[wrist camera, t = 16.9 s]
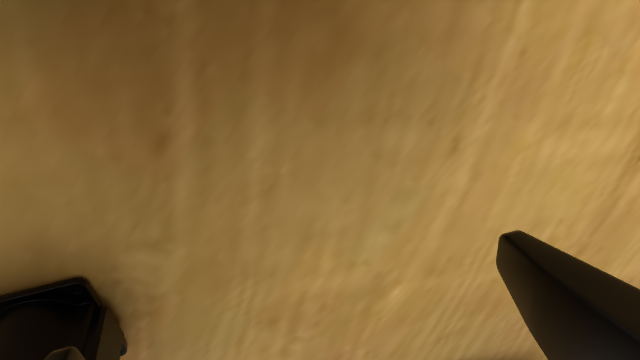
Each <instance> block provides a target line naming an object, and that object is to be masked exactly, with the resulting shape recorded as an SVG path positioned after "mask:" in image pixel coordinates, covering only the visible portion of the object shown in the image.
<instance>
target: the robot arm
mask: <svg viewBox="0 0 640 360" xmlns="http://www.w3.org/2000/svg"><path fill="white" fill-rule="evenodd" d="M496 265H497V268H498V271H499V273H500V275H501V277H502V279H503V281H504V283H505V285H506V287H507V288H508V290H509V292H510V294H511V296H512V298H513V300H514V302H515V304H516V306H517V308H518V310H519V312H520V314H521V315H522V317H523V319H524V321H525V323H526V325H527V327H528V329H529V330H530V332H531V334H532V335H533V337H534V339H535V340H536V342H537V343H538V345H539V346H540V348H541V349H542V351H543V352H544V354H545V355H546V357H547V358H548V360H640V289H638V288H636V287H634V286H632V285H630V284H628V283H626V282H624V281H622V280H620V279H618V278H616V277H614V276H612V275H610V274H608V273H606V272H604V271H602V270H600V269H598V268H595V267H593V266H591V265H589V264H587V263H585V262H583V261H581V260H579V259H577V258H575V257H573V256H571V255H569V254H567V253H565V252H563V251H561V250H559V249H557V248H555V247H553V246H551V245H549V244H547V243H545V242H543V241H541V240H539V239H537V238H535V237H533V236H531V235H529V234H527V233H525V232H522V231H519V230H517V231H512V232H508V233H504V234H502V235H501V236H500V237H499V243H498V250H497V257H496ZM76 287H80V288H76ZM123 336H124V334H123V332H122V330H121V329H120V327H119V326H118V324H117V322H116V321H115V319H114V318H113V316H112V314H111V313H110V311H109V310H108V308H107V307H105V306H104V305H102V303H101V302H100V300H99V298H98V297H97V295H96V294H95V292H94V291H93V289H92V287H91V286H90V284H89V283H88V282H87V281H86V280H85V279H83V278H73V279H69V280H65V281H61V282H57V283H53V284H49V285H45V286H41V287H37V288H33V289H29V290H25V291H20V292H16V293H12V294H8V295H4V296H0V360H120V356H123V355H125V354H126V352H127V346H128V345H127V343H126V341H125V339H124V338H123Z"/></svg>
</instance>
